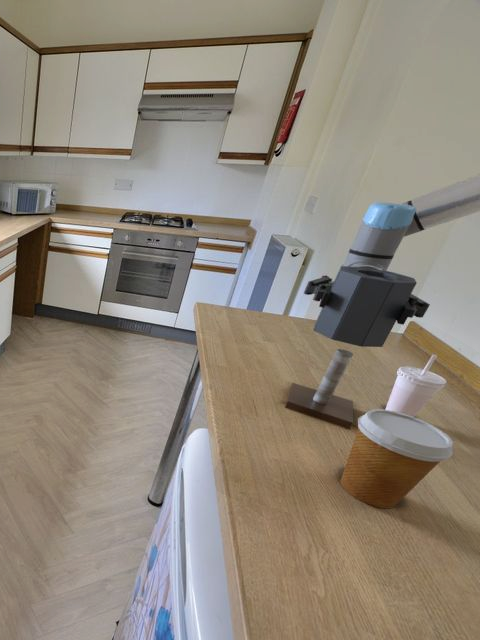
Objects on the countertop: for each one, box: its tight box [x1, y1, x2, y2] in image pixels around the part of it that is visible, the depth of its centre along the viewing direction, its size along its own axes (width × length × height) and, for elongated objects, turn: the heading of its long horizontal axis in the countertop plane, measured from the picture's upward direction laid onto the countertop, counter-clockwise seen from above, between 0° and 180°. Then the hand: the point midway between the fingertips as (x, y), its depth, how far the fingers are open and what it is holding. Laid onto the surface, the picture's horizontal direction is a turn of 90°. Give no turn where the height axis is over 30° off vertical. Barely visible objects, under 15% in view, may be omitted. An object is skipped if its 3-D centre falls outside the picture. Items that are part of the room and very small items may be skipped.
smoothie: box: [384, 353, 447, 418], centre depth 77 cm, size 6×6×14 cm
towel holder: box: [284, 348, 354, 430], centre depth 79 cm, size 10×10×12 cm
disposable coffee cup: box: [339, 408, 454, 509], centre depth 59 cm, size 10×10×12 cm
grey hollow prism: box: [313, 265, 417, 348], centre depth 75 cm, size 10×10×12 cm
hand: (363, 308), depth 72 cm, fingers closed on grey hollow prism, 10 cm apart
